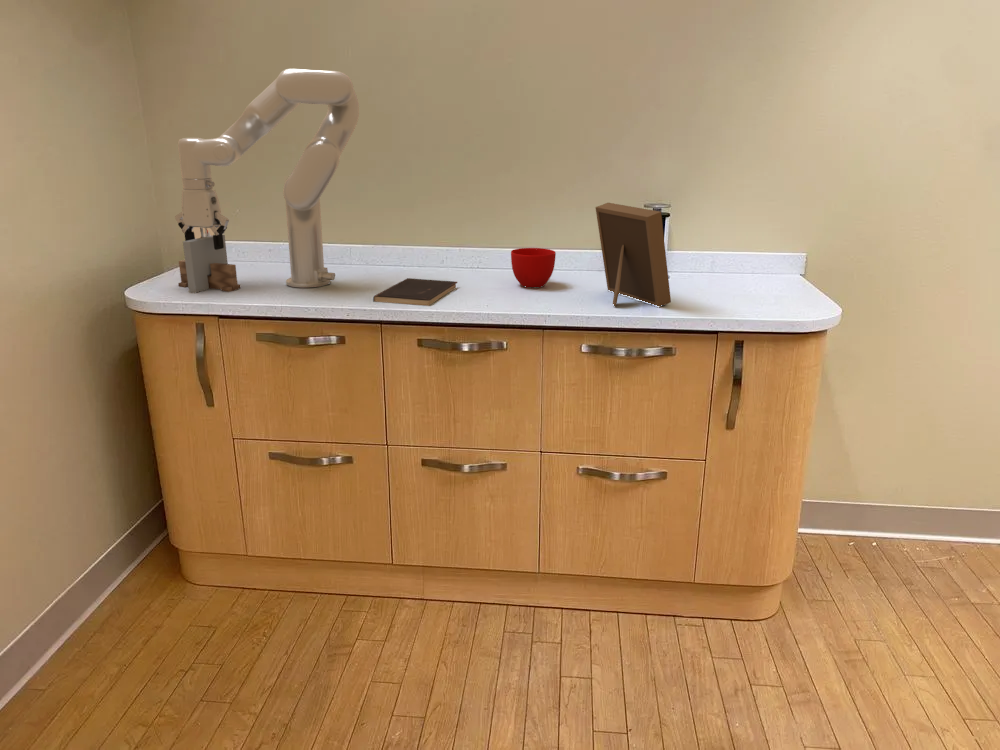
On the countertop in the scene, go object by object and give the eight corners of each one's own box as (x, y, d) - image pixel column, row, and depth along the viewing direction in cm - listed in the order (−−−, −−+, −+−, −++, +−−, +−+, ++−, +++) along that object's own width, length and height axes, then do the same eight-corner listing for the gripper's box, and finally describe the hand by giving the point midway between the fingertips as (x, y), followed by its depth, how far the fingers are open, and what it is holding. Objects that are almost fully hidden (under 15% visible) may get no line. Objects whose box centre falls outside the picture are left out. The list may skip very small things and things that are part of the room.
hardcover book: (457, 289, 220) (457, 281, 220) (429, 308, 200) (429, 299, 199) (405, 285, 224) (405, 277, 224) (373, 303, 204) (372, 295, 203)
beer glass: (222, 268, 243) (217, 220, 238) (203, 271, 237) (198, 223, 233) (207, 265, 246) (202, 219, 242) (189, 269, 241) (183, 221, 236)
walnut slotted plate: (241, 288, 217) (238, 263, 214) (229, 291, 212) (227, 266, 210) (190, 282, 222) (187, 259, 220) (178, 286, 218) (174, 262, 216)
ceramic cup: (555, 278, 233) (556, 246, 230) (553, 291, 217) (554, 256, 214) (513, 277, 234) (513, 245, 231) (508, 289, 218) (509, 255, 215)
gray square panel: (229, 282, 223) (224, 234, 218) (196, 292, 211) (189, 242, 206) (223, 282, 224) (217, 234, 219) (189, 292, 211) (182, 241, 207)
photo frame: (619, 289, 220) (624, 201, 211) (670, 305, 202) (678, 210, 194) (577, 295, 213) (580, 204, 205) (626, 313, 195) (632, 214, 187)
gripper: (232, 185, 208) (239, 247, 214) (182, 182, 214) (189, 243, 220) (214, 187, 202) (221, 252, 207) (162, 184, 207) (170, 247, 213)
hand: (205, 247), depth 213 cm, fingers open, 9 cm apart
